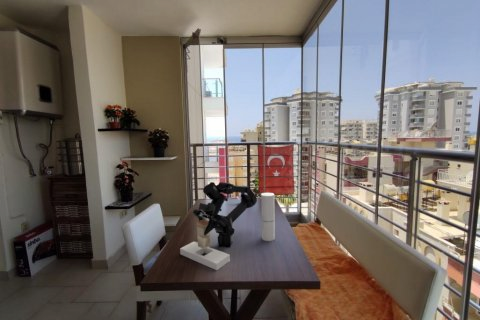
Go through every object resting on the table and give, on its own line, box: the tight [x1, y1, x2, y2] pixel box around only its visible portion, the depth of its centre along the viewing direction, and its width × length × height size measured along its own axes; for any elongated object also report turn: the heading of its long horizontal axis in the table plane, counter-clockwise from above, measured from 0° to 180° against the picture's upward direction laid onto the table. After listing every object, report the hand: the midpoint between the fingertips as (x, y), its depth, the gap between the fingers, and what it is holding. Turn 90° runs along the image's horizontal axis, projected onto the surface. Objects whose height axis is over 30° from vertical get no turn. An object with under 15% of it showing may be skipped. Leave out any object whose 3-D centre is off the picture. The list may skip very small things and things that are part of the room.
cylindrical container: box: [260, 192, 276, 242], centre depth 127 cm, size 7×7×25 cm
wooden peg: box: [196, 219, 211, 249], centre depth 109 cm, size 4×4×12 cm
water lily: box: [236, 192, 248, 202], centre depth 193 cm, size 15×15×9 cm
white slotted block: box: [179, 241, 231, 271], centre depth 110 cm, size 9×24×3 cm, turn 53°
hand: (201, 233), depth 108 cm, fingers closed on wooden peg, 4 cm apart
